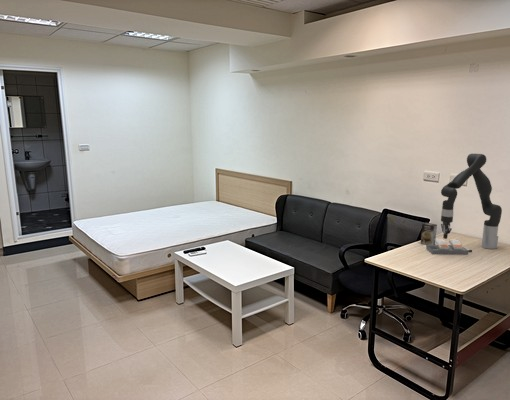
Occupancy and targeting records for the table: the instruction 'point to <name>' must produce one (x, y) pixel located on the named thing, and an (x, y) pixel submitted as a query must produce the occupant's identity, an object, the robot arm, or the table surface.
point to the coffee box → (428, 233)
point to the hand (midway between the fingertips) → (445, 238)
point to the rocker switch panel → (447, 250)
